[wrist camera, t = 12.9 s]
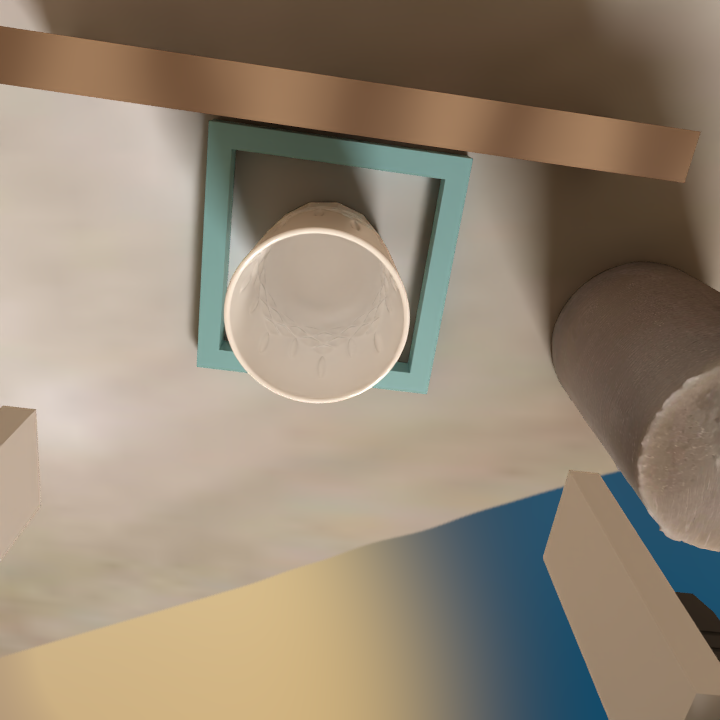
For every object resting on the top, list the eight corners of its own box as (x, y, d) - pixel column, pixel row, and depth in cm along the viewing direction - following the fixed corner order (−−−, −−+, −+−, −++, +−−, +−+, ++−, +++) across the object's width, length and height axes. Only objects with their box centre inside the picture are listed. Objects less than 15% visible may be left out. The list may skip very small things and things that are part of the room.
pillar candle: (746, 311, 39) (963, 433, 25) (640, 439, 42) (782, 610, 28) (615, 228, 37) (771, 310, 23) (514, 368, 40) (599, 514, 26)
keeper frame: (201, 356, 39) (196, 366, 38) (214, 119, 34) (208, 120, 33) (424, 383, 40) (426, 394, 39) (468, 155, 35) (472, 158, 34)
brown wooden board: (70, 81, 34) (-21, 80, 25) (69, 37, 33) (-25, 22, 25) (605, 159, 36) (684, 182, 27) (616, 120, 35) (700, 131, 26)
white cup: (337, 352, 40) (333, 435, 30) (227, 272, 38) (187, 334, 28) (423, 249, 37) (448, 305, 28) (311, 159, 35) (297, 186, 26)
